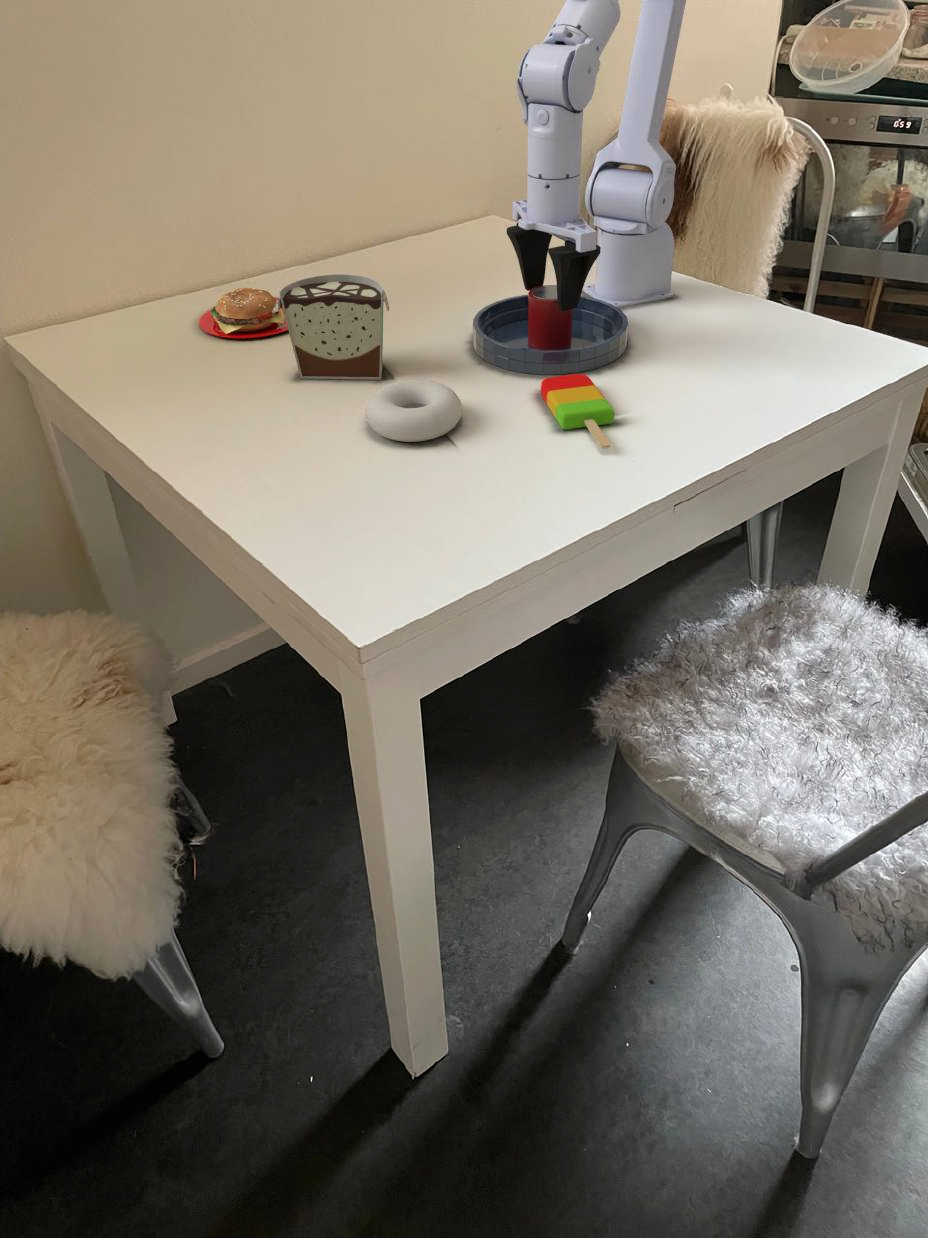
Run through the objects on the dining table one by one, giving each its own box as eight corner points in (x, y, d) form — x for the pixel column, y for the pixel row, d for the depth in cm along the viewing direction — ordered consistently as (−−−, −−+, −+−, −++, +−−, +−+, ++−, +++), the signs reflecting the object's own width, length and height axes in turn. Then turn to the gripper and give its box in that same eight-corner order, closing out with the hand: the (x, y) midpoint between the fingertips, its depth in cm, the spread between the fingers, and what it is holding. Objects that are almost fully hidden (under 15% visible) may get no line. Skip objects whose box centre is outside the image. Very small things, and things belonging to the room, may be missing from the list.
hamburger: (323, 326, 122) (317, 279, 118) (215, 349, 117) (205, 300, 113) (289, 292, 132) (282, 248, 128) (188, 312, 127) (178, 266, 123)
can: (558, 331, 118) (560, 281, 114) (579, 346, 114) (581, 295, 110) (520, 338, 116) (520, 289, 112) (539, 354, 112) (541, 303, 109)
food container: (402, 357, 114) (396, 272, 107) (394, 379, 109) (387, 292, 103) (300, 356, 115) (288, 272, 108) (287, 378, 110) (274, 291, 104)
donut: (416, 396, 106) (346, 426, 100) (414, 366, 103) (343, 395, 98) (482, 423, 100) (412, 457, 94) (482, 392, 98) (410, 425, 92)
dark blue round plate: (579, 306, 124) (580, 283, 123) (655, 358, 111) (658, 333, 109) (450, 332, 119) (449, 308, 117) (514, 389, 106) (514, 363, 104)
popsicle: (586, 386, 106) (586, 370, 105) (632, 451, 94) (634, 434, 93) (537, 393, 105) (537, 376, 104) (578, 459, 94) (579, 441, 92)
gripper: (488, 164, 107) (490, 286, 115) (558, 194, 97) (554, 325, 105) (543, 155, 109) (540, 275, 118) (616, 183, 99) (607, 312, 108)
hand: (550, 298), depth 112 cm, fingers open, 7 cm apart
